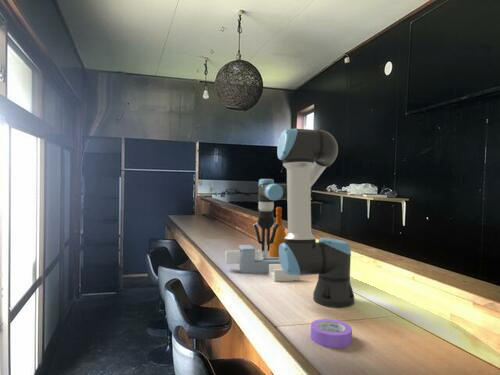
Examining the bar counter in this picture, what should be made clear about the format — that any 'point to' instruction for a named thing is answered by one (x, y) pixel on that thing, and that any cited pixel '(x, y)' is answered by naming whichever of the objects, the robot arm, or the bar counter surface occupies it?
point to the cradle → (280, 273)
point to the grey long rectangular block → (240, 256)
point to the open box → (249, 261)
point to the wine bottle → (277, 235)
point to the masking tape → (331, 333)
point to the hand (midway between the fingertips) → (265, 257)
